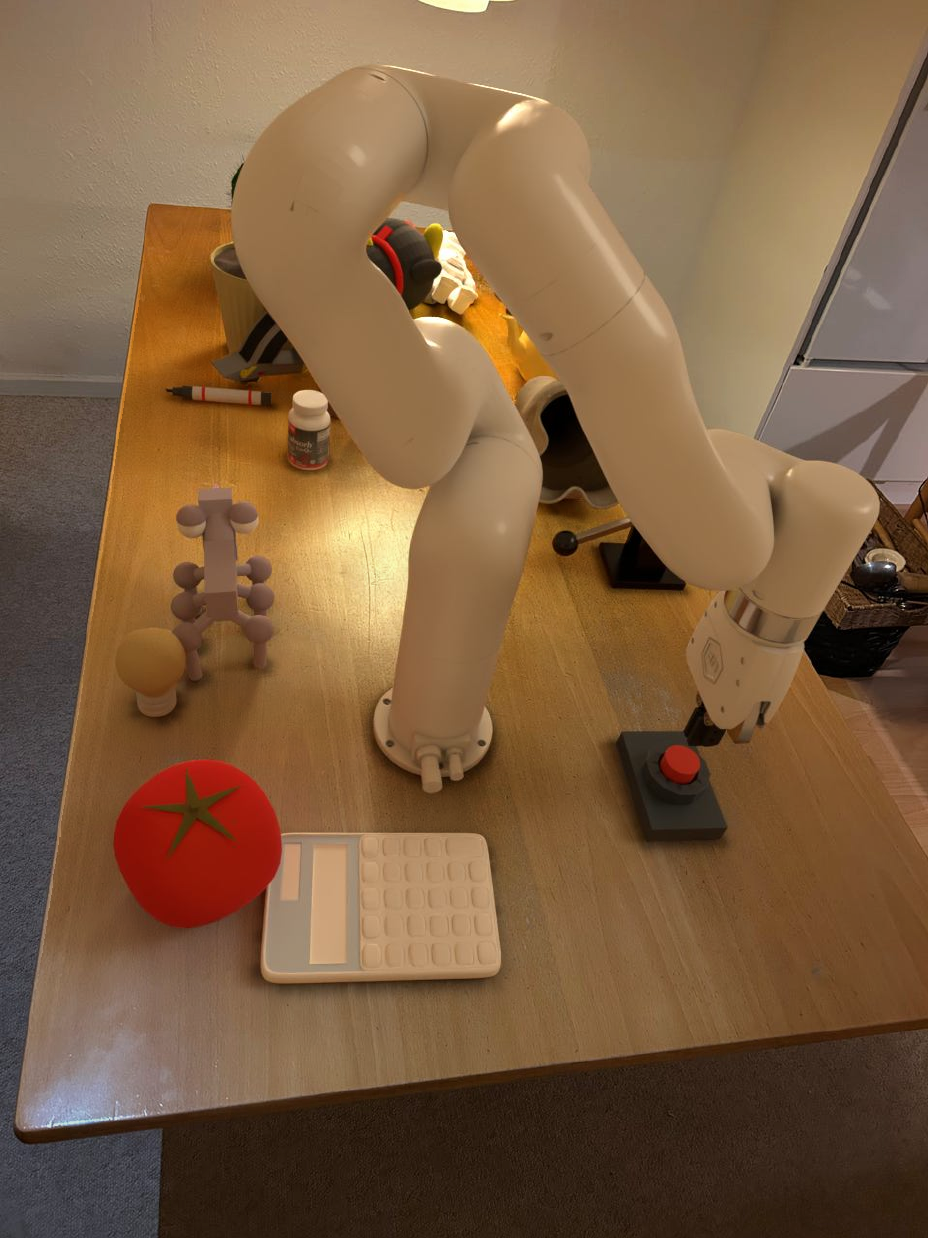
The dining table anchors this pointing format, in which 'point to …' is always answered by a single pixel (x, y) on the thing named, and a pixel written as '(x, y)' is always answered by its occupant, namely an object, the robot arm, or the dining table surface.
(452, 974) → the calculator
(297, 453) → the pill bottle
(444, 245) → the figure
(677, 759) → the button
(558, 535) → the lever
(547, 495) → the vase
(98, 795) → the dining table surface
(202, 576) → the toy insect
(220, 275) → the potted cactus
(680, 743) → the button box
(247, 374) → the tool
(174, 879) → the tomato
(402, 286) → the toy
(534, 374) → the teapot
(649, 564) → the bracket
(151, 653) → the light bulb
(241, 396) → the marker
